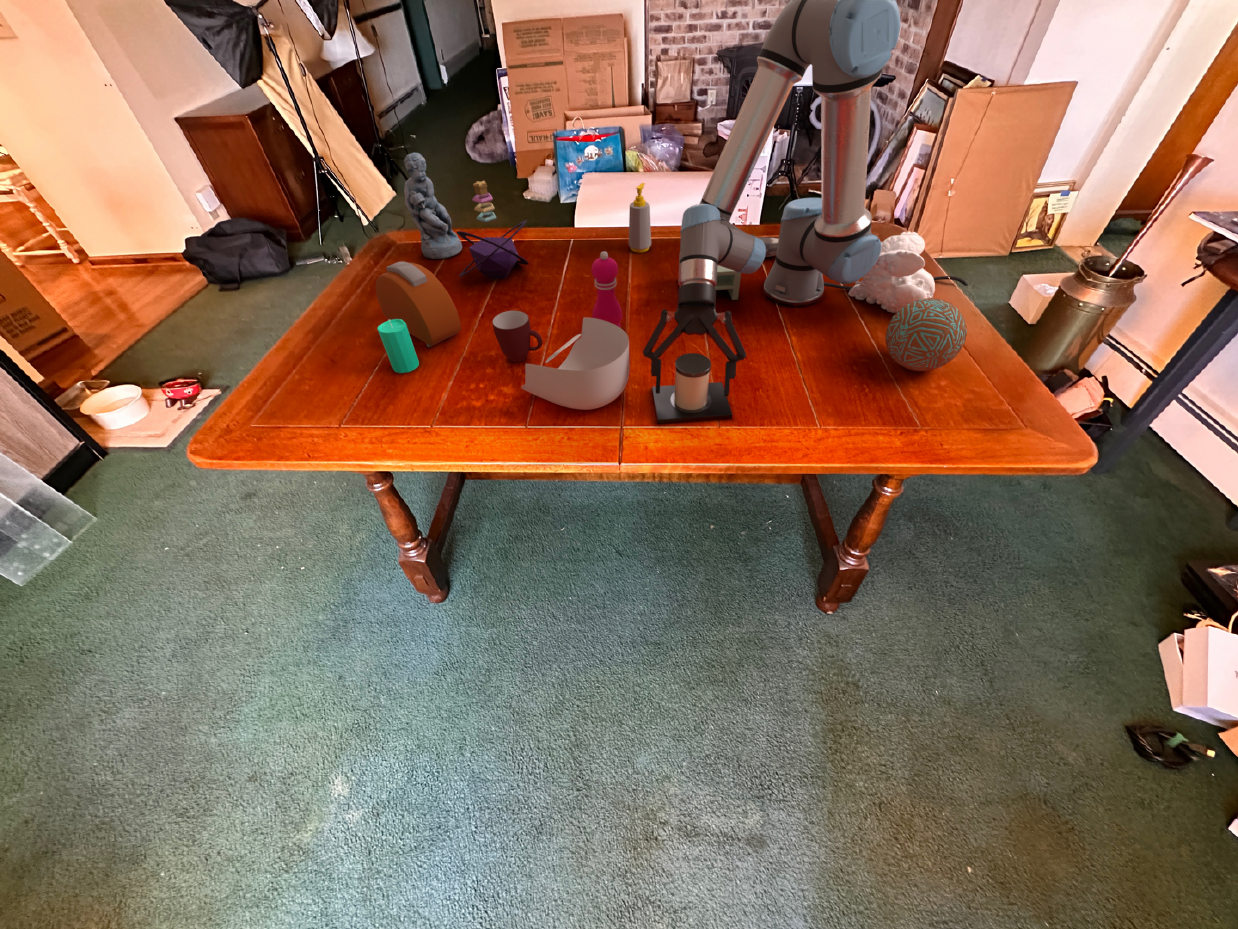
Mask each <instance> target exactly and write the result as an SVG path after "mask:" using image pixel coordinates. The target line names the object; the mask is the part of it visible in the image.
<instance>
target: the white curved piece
mask: <svg viewBox="0 0 1238 929" xmlns="http://www.w3.org/2000/svg"><path fill="white" fill-rule="evenodd" d="M573 343H574V344H573ZM571 345H572V348H571V349H570V352H569V353H568V355H567V356H566V358H565V359H564V361H563V362H562V363H561V364H560V365H559V367H557V368H556V367H551V366H545V365H540V364H534V363H525V364H524V365H525V367H524V368H525V369H524V370H525V372H524V373H525V377H524V378H525V380H524V381H525V384H522V385H521V386H520V388H521V390H523V391H526V392H528V393H530V394H532V395H534V396H535V397H539V398H541V399H543V400H545V401H548V402H550V403H552V404H555V405H558V406H562V407H565V408H569V409H574V410H580V411H581V410H583V411H586V410H595V409H599V408H603V407H604V406H607V405H609V404H610V403H612V402H613V401H615V400H616V399H618V398H619V396H620V395H621V394H622V393H623V392H624V390H625V389H626V386H627V384H628V383H629V382H628V381H629V377H630V366H631V362H630V360H631V359H630V338H629V335H628V334H627V332H626V331H625V330H623V328H622V327H621V328H620V327H618V326H616V325H614V324H612V323H610V322H607V321H604V320H600V319H596V318H593V317H587V316H586V317H585V316H584V317H583V318H582V326H581V333H579V334H575V336H573V337H572V338H571V339H569V340H568V341H567V342H566V343H565V344H564V345H562V346H561V347H560V348H559V349H558V350H556V351H554V353H553V354H552V355H550V356H549V357H548V358H547V359H546V360H545V362H544V363H545V364H547V363H549V362H550V361H552V360H553V359H555V357H557V356H558V355H559V354H560V353H561V352H562V351H563V350H565V349H567V348H568V347H569V346H571Z"/></svg>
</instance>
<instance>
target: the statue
mask: <svg viewBox="0 0 1238 929" xmlns="http://www.w3.org/2000/svg"><path fill="white" fill-rule="evenodd" d="M403 162H404V167H405V169H406V172H408V174H409V176H410V177H409V178H408V179H406V181H405V183H404V187H403V191H404V205H405V207H406V209H407V210H408V211H409V213H410V217H412V221H413V223H414V225H415V227H416V228H417V229H418V231H419V233H420V243H421V245H420V249H421V252H422V255H423V256H424V257H425V258H426V259H430V260H443V259H449V258H451V257H454V256H457V254H459V253H460V252H461V251H462V250H463V244H462V242H461V239H460V238H459V235H458V234H457V232H455V231H453V227H452V226H453V225H452V223H453V222H452V219H451V216H450V214H449V213H448V211H447V209H446V207H445V206H444V205H443V204H441V203H440V202H438V199H437V198H436V196H435V189H434V188H435V187H434V183H433V181H432V179H431V178H429V177H428V176H427V173H426V171H427V161H426V159H425V157H423V155H422V154H421V153H419V152H411V153H409V154H407V155H406V156H405V157H404V159H403Z"/></svg>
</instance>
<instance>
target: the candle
mask: <svg viewBox="0 0 1238 929" xmlns="http://www.w3.org/2000/svg"><path fill="white" fill-rule="evenodd" d="M376 329H377V332H378V334H379V338H380V340H381V342H382V345H383V347H384V349H385V353H386V355H387V357H388V361H389V363H390V365H391V368H392V370H393V371H394V372H395V373H398V374H405V373H410V372H412V371H415V370H416V369H417V368H418V367H419V365H420V361H419V358H418V355H417V352H416V350H415V346H414V343H413V341H412V337H411V335H410V333H409V331H408V329H407V326H406V323H405V322H404V321H403V320H402V319H393V320H390V319H387V321H384V322H382V323H381V324H380V325H378V326H377V328H376Z"/></svg>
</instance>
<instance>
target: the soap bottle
mask: <svg viewBox="0 0 1238 929" xmlns="http://www.w3.org/2000/svg"><path fill="white" fill-rule="evenodd" d="M645 185H646V182H642V183H640V184H639V185H637V186H636V187H635V190H636V193H637V195H636V196H635V199H634V200H633V201H632V202H631V203H630V204H629V214H628V216H629V217H628V220H629V221H628V223H629V224H628V247H629V248H630V250H631V251H632V252H634V253H645V252H647V251H649V250H650V247H651V246H652V229H651V228H652V227H651V211H650V210H651V208H650V203H649V202H648V201H646V199H644V196H643V195H642V193H643V190H644V187H645Z"/></svg>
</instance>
